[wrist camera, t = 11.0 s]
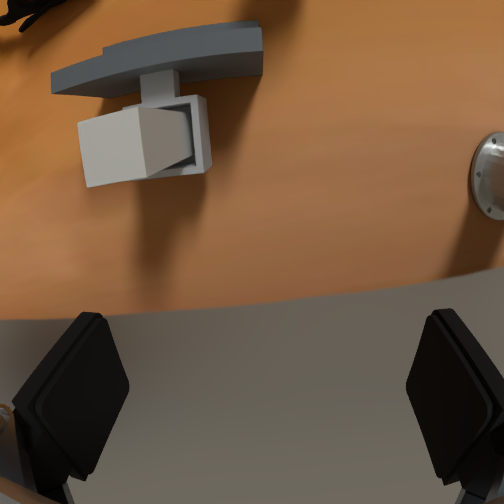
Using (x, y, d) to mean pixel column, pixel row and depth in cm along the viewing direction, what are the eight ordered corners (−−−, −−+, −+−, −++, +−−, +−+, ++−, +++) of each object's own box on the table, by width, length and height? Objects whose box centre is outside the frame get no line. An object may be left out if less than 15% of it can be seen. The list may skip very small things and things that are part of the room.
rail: (191, 113, 28) (137, 106, 15) (195, 153, 29) (146, 177, 17) (152, 120, 28) (77, 122, 15) (157, 159, 30) (87, 187, 17)
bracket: (258, 23, 28) (256, -21, 17) (268, 157, 34) (271, 173, 23) (107, 49, 29) (51, 29, 18) (117, 173, 35) (63, 196, 24)
